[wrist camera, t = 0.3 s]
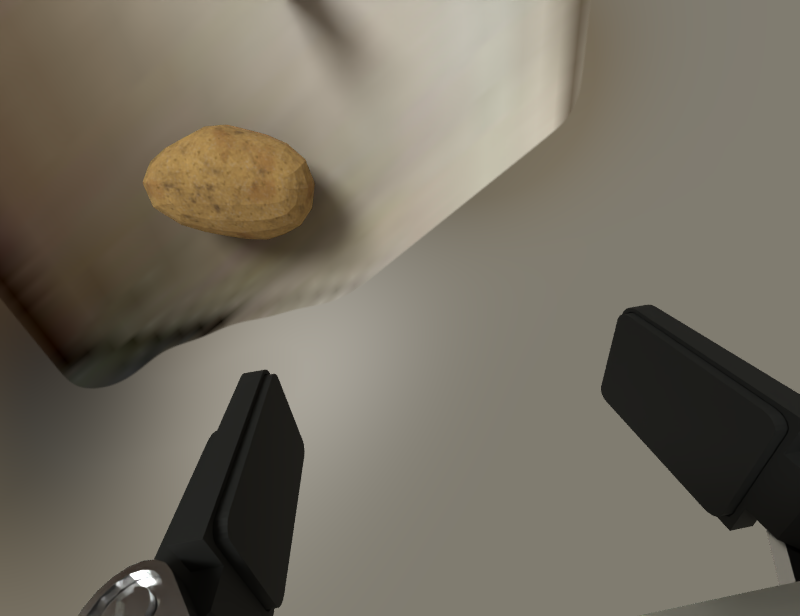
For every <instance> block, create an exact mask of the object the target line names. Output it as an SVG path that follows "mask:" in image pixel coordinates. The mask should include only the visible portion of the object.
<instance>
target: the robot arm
mask: <svg viewBox="0 0 800 616" xmlns="http://www.w3.org/2000/svg"><path fill="white" fill-rule="evenodd" d="M601 392H602V395H603V397H604V399H605V400H606V402H607V403H608V404H609V405H610V406H611V407H612V408H613V409H614V410H615V411H616V413H617V414H618V415H620V417H621V418H622V419H623V420H624V421H625V422H626V423H627V425H628V426H629V427H630V428H631V429H632V430H633V431H634V432H635V433H636V434H637V436H638V437H639V438H640V439H641V440H642V441H643V442H644V443H645V444H646V445H647V447H649V449H650V450H651V451H652V452H653V453H654V454H655V455H656V456H657V457H658V459H659V460H660V461H661V462H662V463H663V464H664V465H665V466H666V467H667V468H668V470H669V471H671V473H672V474H673V475H674V476H675V477H676V478H677V479H678V481H679V482H680V483H681V484H682V485H683V486H684V487H685V488H686V489H687V490H688V491H689V493H690V494H691V495H692V496H693V497H694V498H695V499H696V500H697V501H698V502H699V504H701V506H702V507H703V508H704V509H705V510H706V511H707V512H708V513H710V514H711V515H713V516H716V517H718V518H719V519H720V520H721V522H722V523H723V524H724V525H725V526H726V527H727V528H728V529H729V530H730V531H731V530H735V529H740V528H745V527H750V526H753V525H754V523H755V522H756V521H757V520H758V521H759V522H760V523H761V524H762V525H763V526H764V527H765V528H766V529H767V535H768V539H769V543H770V547H771V552H772V556H773V560H774V564H775V568H776V573H777V577H778V581H779V586H775V587H770V588H765V589H761V590H756V591H751V592H747V593H742V594H738V595H733V596H728V597H723V598H719V599H714V600H709V601H705V602H700V603H695V604H691V605H686V606H682V607H677V608H673V609H668V610H664V611H659V612H654V613H650V614H645V615H640V616H800V394H798V393H797V392H795V391H793V390H792V389H790V388H788V387H787V386H785V385H783V384H782V383H780V382H778V381H777V380H775V379H773V378H772V377H770V376H769V375H767V374H765V373H764V372H762V371H760V370H759V369H757V368H755V367H754V366H752V365H751V364H749V363H747V362H746V361H744V360H742V359H741V358H739V357H737V356H736V355H734V354H732V353H731V352H729V351H727V350H726V349H724V348H722V347H721V346H719V345H718V344H716V343H714V342H713V341H711V340H709V339H708V338H706V337H704V336H703V335H701V334H700V333H698V332H696V331H694V330H693V329H691V328H690V327H688V326H686V325H685V324H683V323H681V322H680V321H678V320H676V319H675V318H673V317H671V316H670V315H668V314H666V313H665V312H663V311H662V310H660V309H658V308H657V307H655V306H653V305H643V306H638V307H632V308H628V309H626V310H625V311H624V312H623V314H622V315H620V316H619V318H618V320H617V324H616V329H615V333H614V337H613V341H612V345H611V349H610V353H609V357H608V361H607V365H606V370H605V373H604V377H603V382H602V386H601ZM303 461H304V444H303V440H302V438H301V435H300V433H299V430H298V427H297V425H296V422H295V420H294V417H293V415H292V412H291V410H290V407H289V405H288V402H287V399H286V397H285V394H284V392H283V389H282V386H281V384H280V381H279V379H278V377H277V375H276V374H271V375H270V373H269V371H268V370H261V371H255V372H249V373H244V374H242V376H241V378H240V380H239V382H238V385H237V387H236V389H235V391H234V394H233V396H232V398H231V401H230V403H229V405H228V407H227V410H226V412H225V414H224V416H223V419H222V421H221V424H220V426H219V428H218V430H217V431H215V432H214V433H213V434H212V435H211V437H210V438H209V440H208V442H207V444H206V446H205V449H204V451H203V453H202V455H201V457H200V459H199V462H198V464H197V466H196V468H195V471H194V473H193V475H192V477H191V479H190V482H189V484H188V486H187V488H186V490H185V493H184V495H183V497H182V499H181V501H180V503H179V506H178V508H177V510H176V512H175V514H174V517H173V519H172V521H171V524H170V525H169V528H168V530H167V532H166V534H165V536H164V539H163V541H162V543H161V545H160V547H159V550H158V552H157V554H156V556H155V558H154V560H145V561H141V562H139V563H136V564H134V565H131V566H129V567H127V568H126V569H124V570H123V571H121V572H120V573H118V574H117V575H115V576H114V577H112V578H111V579H110V580H109V581H108V582H107V583H106V584H104V585H103V586H102V587H101V588H100V589H99V590H98V591H97V592H96V593H95V594H94V595H93V597H92V598H91V599H90V600H89V601H88V603H87V604H86V605H85V606H84V607H83V609H82V610H81V612H80V613H79V615H78V616H273V614H274V608H278V607H280V606H281V604H282V601H283V597H284V592H285V585H286V578H287V571H288V564H289V557H290V550H291V543H292V536H293V530H294V523H295V516H296V509H297V502H298V495H299V488H300V481H301V474H302V467H303Z"/></svg>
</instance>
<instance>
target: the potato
mask: <svg viewBox="0 0 800 616" xmlns="http://www.w3.org/2000/svg"><path fill="white" fill-rule="evenodd" d="M143 185H144V187H145V189H146V191H147V194H148V196H149V198H150V200H151V203H152V205H153V207H154V208H156V209H157V210H159V211H160V212H162V213H163V214H165V215H167V216H168V217H170V218H171V219H173V220H175V221H176V222H178V223H179V224H181V225H184V226H188V227H191V228H195V229H198V230H201V231H205V232H210V233H215V234H220V235H226V236H232V237H239V238H245V239H270V238H274V237H277V236H280V235H283V234H286V233H287V232H289V231H291V230H293V229H295V228H296V227H298V226H300V225H301V224H302V223H303V221H304V220H305V218H306V217H307V215H308V213H309V212H310V210H311V209H312V204H313V195H314V186H315V183H314V180H313V178H312V175H311V173H310V170H309V168H308V165H307V163H306V160H305V159H304V158H303V157H302V156H301V155H300V154H298V153H297V152H296V151H295V150H294V149H293V148H292V147H290V146H289V145H288V144H287V143H284V142H282V141H280V140H278V139H275V138H273V137H271V136H268V135H266V134H262V133H258V132H254V131H250V130H246V129H242V128H238V127H234V126H230V125H218V126H207V127H203V128H201V129H200V130H198V131H196V132H194V133H192V134H190V135H188V136H186V137H185V138H183V139H181V140H179V141H177V142H176V143H174V144H172V145H170V146H168V147H167V148H165V149H164V150H163V151H162V152H161V153H160V154H158V155H157V156H156V157H155V158H154V159H153V160H152V161H151V162H150V164H149V167H148V170H147V172H146V175H145V178H144V180H143Z"/></svg>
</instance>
